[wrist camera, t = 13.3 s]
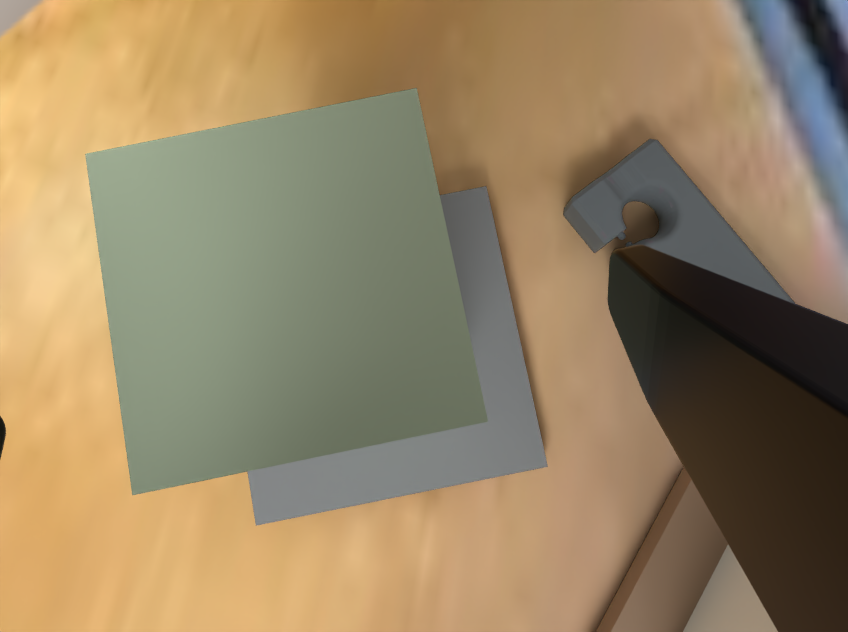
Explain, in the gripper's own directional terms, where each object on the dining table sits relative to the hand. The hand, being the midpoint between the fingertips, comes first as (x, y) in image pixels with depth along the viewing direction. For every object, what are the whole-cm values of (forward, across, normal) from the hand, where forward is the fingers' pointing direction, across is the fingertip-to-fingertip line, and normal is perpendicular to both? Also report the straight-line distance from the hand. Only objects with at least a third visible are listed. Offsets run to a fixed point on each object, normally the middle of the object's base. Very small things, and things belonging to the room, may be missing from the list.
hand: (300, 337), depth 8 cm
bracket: (+10, -12, +9) cm, 18 cm away
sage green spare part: (+9, 0, +8) cm, 12 cm away
